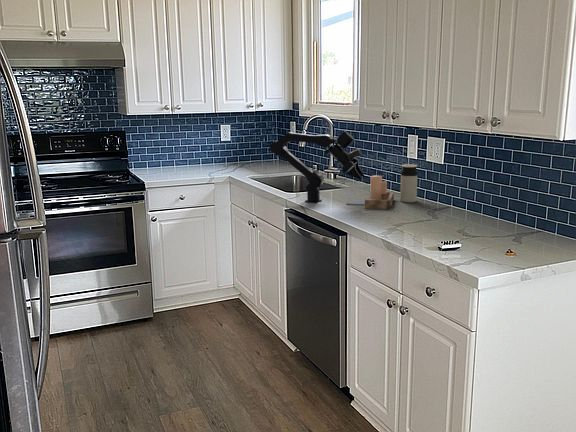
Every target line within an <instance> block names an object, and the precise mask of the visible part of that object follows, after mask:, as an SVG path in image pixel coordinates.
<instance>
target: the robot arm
mask: <svg viewBox="0 0 576 432" xmlns="http://www.w3.org/2000/svg"><path fill="white" fill-rule="evenodd" d="M355 140H356V139H355V138H354V137H353V135H352V134H350V133H349V132H347V131H346V130H343V131H342V132H341V134H339V136H338V137H335V136H332V135H330V133H329V134H327V133H326V134H316V135H315V134H307V133H299V132H292V131H289V132H286V133H285V134H284V135H283V136H281V138H279V139H278V140H275V141H273V142H271V143H270V145H269V150H270V152H271V153H273V154H275V155H276V156H278V157H280V158H283V159H284V160H285V161H286V162H288V163H289V164H290V165H291V166H292V167H294V168H295V169H296V170H297V171H298V172H299V173H300V174H301V175H303V177H305V179H306V180H307V182H308V184H307V185H306V186H305V188H306V194H307V197H306V198H307V199H305V200H304V202H306V203H307V202H308V203H313V204H315V203H319V202H322V201H323V199H321V198H320V197H321V195H320V192H321V191H320V188H321V186H322V185H323V184H324V181H325V178H324V176H323V173H321V172H320V171H318V169H314V170H312V169H310V168H309V167H308V166H307V165H306V164H305V163H303V162H302V161H301V160H300V159H299V158H297V157H296V156H295V155H294V154H293V153H291V151H290V150H289V149H288V147H287V145H288V144H289V142H291V141H293V142H299V143H301V142H302V143H309V144H314V145H316V146H320V147H322V148H325V151H324V152H325V153H324V154H325V156H327V155H328V154H330V155H332V157H333V158H334V159H335V160H336V162H337V163H339V164H340V165H341V166H342V168H341V171H342V173H343V174H345V175H346V176H347V175H348V176H350V177H353V178H355V179H357V180H360V181H361V180H362V179H363V178H362V177H364V176H365V174H364V172H363V171H362V169H361V167H360V160H359V159H358V157H360V156H361V155H362V151H361V149H360V148H357V147H354V148H352V151H351V152H348V151H345V150H344V149H347V148H348V147H349V146H350V145H351V144H353V142H354V141H355Z"/></svg>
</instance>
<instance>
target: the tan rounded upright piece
mask: <svg viewBox="0 0 576 432" xmlns="http://www.w3.org/2000/svg"><path fill="white" fill-rule="evenodd" d="M369 184H370V185H369V186H370V187H369V188H370V190H369V199H373V200H382V194H387V192H388V181H386V180H385V181H383V176H382V175H377V174H376V175H371V176H370V183H369Z"/></svg>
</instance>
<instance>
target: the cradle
mask: <svg viewBox="0 0 576 432" xmlns="http://www.w3.org/2000/svg"><path fill="white" fill-rule="evenodd" d="M394 196H395V191H387V194H382V200H373V199H370V198H369V199H367V198H365V199H364V200H365V205H364V209H379V210H380V209H381V210H384V209H385V210H390V209H391V207H392V204H393V202H394V199H395V197H394Z"/></svg>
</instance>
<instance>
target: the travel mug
mask: <svg viewBox="0 0 576 432" xmlns="http://www.w3.org/2000/svg"><path fill="white" fill-rule="evenodd" d="M401 167H402V168H401V170H400V191H399V193H400V194H399V196H400V198H399V200H400V202H402V203H406V204H407V203H409V204H410V203H416V202H417V198H418V196H417V195H418V175H419V174H418V170H417V167H418V165H417V164H413V163H411V164H409V163H408V164H405V163H404V164H401Z"/></svg>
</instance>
